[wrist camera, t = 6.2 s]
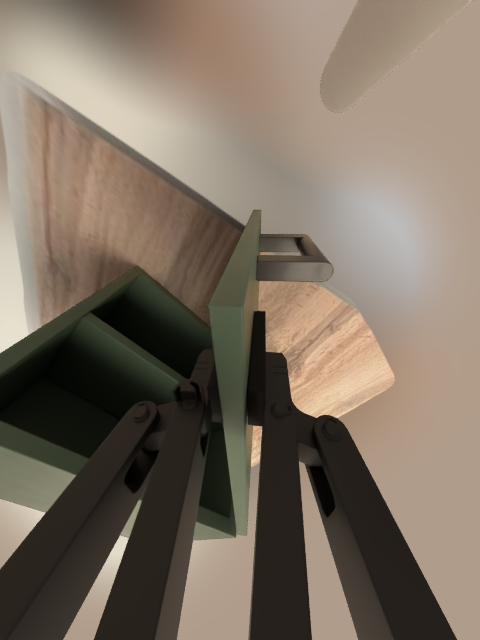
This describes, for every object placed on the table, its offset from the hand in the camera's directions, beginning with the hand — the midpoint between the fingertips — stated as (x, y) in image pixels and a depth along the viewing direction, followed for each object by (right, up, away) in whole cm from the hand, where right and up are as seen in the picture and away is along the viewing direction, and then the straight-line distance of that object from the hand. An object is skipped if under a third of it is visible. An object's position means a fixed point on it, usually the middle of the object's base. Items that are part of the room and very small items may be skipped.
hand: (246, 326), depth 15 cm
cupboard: (-14, -4, +25) cm, 29 cm away
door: (+5, +3, +18) cm, 19 cm away
